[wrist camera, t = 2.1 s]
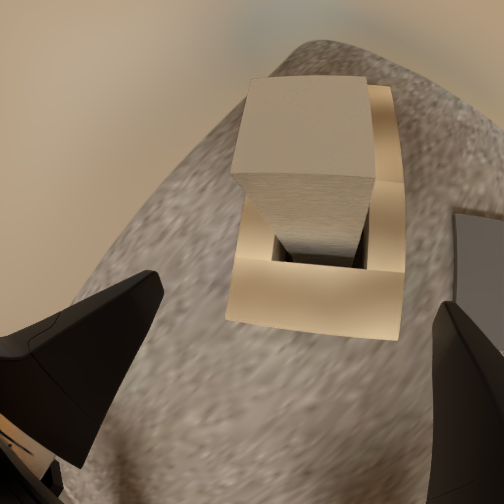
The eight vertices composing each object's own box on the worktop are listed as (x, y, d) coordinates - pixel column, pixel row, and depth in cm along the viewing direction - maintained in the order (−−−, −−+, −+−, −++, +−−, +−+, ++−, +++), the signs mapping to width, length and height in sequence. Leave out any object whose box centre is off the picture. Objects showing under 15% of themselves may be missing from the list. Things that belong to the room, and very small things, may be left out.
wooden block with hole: (385, 336, 17) (397, 340, 13) (245, 319, 20) (224, 319, 16) (385, 117, 20) (389, 86, 17) (276, 114, 23) (265, 85, 20)
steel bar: (350, 267, 19) (375, 177, 6) (295, 262, 20) (230, 172, 8) (354, 213, 19) (366, 76, 7) (301, 210, 21) (251, 79, 8)
